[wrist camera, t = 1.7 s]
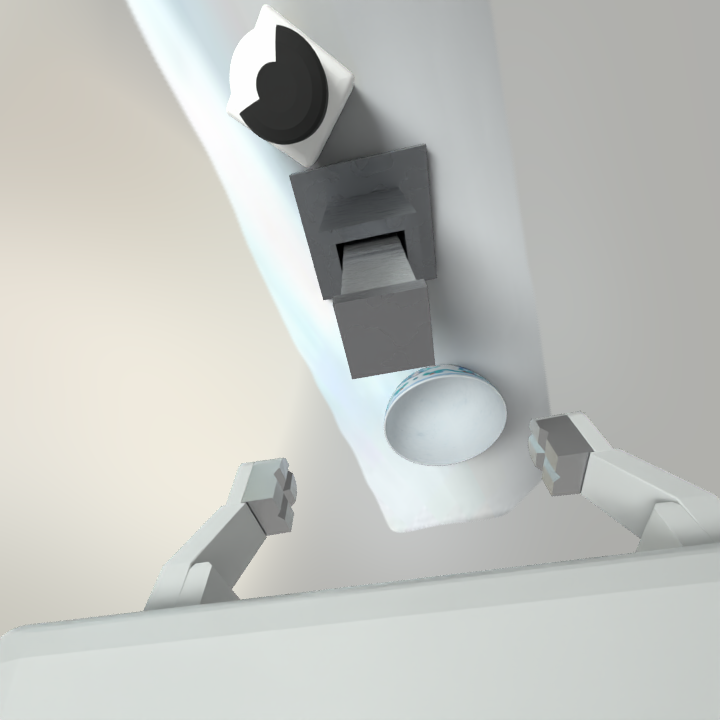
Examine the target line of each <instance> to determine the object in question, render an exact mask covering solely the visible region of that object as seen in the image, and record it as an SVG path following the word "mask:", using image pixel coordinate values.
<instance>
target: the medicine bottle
mask: <svg viewBox="0 0 720 720" xmlns="http://www.w3.org/2000/svg"><path fill="white" fill-rule="evenodd" d="M353 85H354V75H353V73H352V72H351V71H350V70H348V69H347V68H346V67H345V66H343V65H342V64H341V63H340V62H339V61H337V60H336V59H335V58H334V57H332V56H331V55H330V54H329V53H327V52H326V51H325V50H324V49H323V48H321V47H320V46H319V45H318V44H316V43H315V42H314V41H313V40H311V39H310V38H309V37H308V36H307V35H305V34H304V33H303V32H302V31H300V30H299V29H298V28H297V27H295V26H294V25H293V24H292V23H291V22H289V21H288V20H287V19H286V18H284V17H283V16H282V15H281V14H280V13H278V12H277V11H276V10H275V9H273V8H272V7H271V6H270V5H267V4H265V5H263V7H262V9H261V12H260V14H259V17H258V20H257V23H256V26H255V29H253V30H252V31H250V32H249V33H248V34H246V35H245V36H244V37H243V39H242V40H241V41H240V42H239V44H238V46H237V48H236V49H235V52H234V55H233V57H232V61H231V66H230V87H231V96H230V99H229V102H228V105H227V107H226V111H227V113H228V115H229V116H231V117H232V118H234V119H235V120H237V121H238V122H240V123H241V124H243V125H244V126H245V127H247V128H248V129H250V130H251V131H253V132H254V133H255V134H256V135H258V136H259V137H261V138H262V139H264V140H266V141H267V142H269V143H270V144H272V145H273V146H275V147H276V148H278V149H279V150H281V151H282V152H284V153H285V154H287V155H288V156H289V157H291V158H292V159H294V160H295V161H297V162H298V163H300V164H301V165H303V166H304V167H306V168H309V167H311V166H312V165H313V164H314V163H315V162H316V161H317V159H318V157H319V155H320V153H321V151H322V149H323V147H324V145H325V143H326V141H327V139H328V137H329V135H330V133H331V131H332V129H333V127H334V125H335V123H336V121H337V119H338V117H339V115H340V113H341V111H342V109H343V107H344V105H345V103H346V101H347V99H348V97H349V95H350V93H351V91H352V89H353Z"/></svg>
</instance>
